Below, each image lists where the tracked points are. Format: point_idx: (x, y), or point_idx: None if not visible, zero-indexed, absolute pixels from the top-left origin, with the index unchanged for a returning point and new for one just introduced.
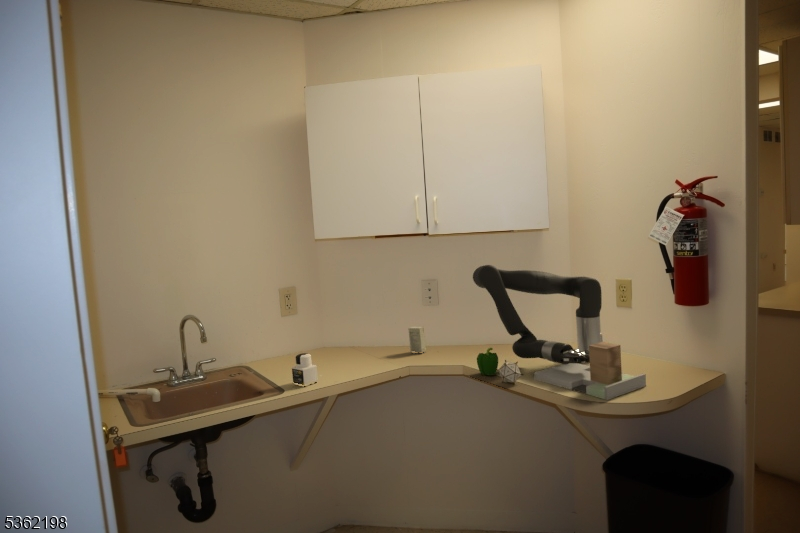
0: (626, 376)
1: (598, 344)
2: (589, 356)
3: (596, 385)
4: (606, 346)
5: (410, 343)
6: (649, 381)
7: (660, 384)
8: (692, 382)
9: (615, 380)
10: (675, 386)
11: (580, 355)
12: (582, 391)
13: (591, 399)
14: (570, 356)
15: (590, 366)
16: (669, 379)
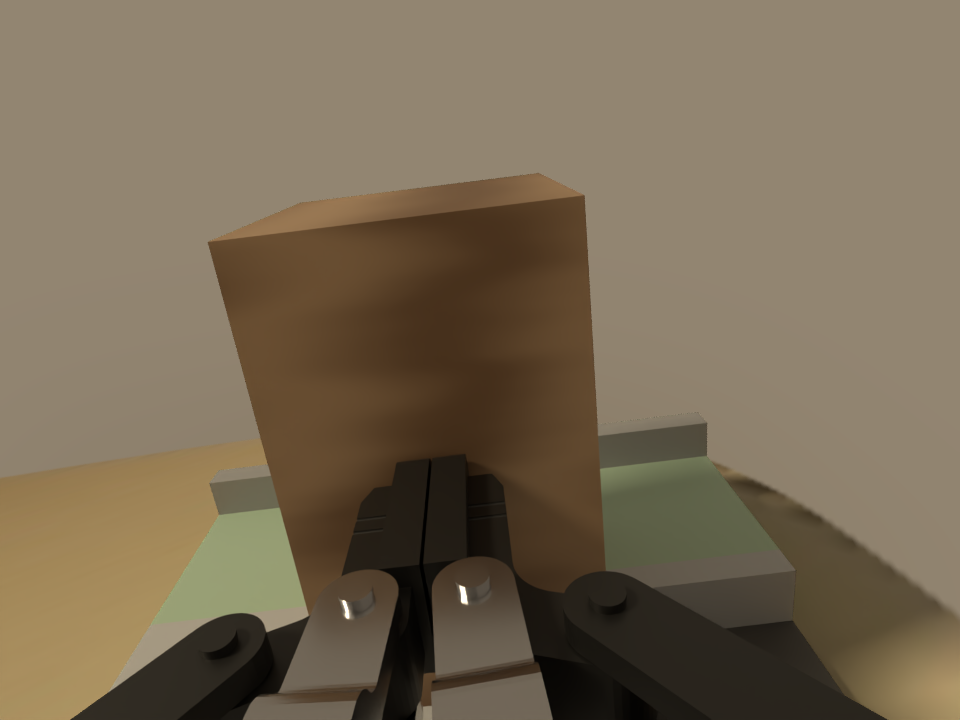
0: (232, 587)
1: (417, 208)
2: (594, 383)
3: (673, 549)
4: (452, 189)
5: None
6: (104, 597)
7: (162, 532)
8: (54, 488)
9: None
10: (174, 486)
11: (528, 638)
12: (819, 663)
13: (811, 540)
14: (863, 711)
15: (599, 518)
16: (5, 563)
